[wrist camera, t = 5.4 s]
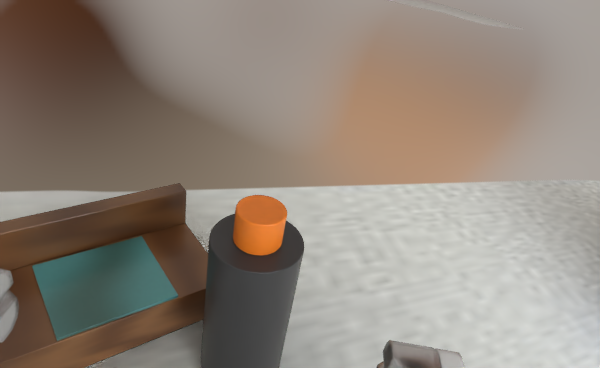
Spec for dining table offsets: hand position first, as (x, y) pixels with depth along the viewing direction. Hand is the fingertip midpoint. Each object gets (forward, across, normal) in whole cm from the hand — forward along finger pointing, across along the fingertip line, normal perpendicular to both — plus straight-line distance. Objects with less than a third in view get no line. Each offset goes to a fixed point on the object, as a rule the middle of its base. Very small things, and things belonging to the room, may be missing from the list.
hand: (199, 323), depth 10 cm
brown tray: (+14, +10, +18) cm, 25 cm away
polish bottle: (+12, 0, +18) cm, 21 cm away
